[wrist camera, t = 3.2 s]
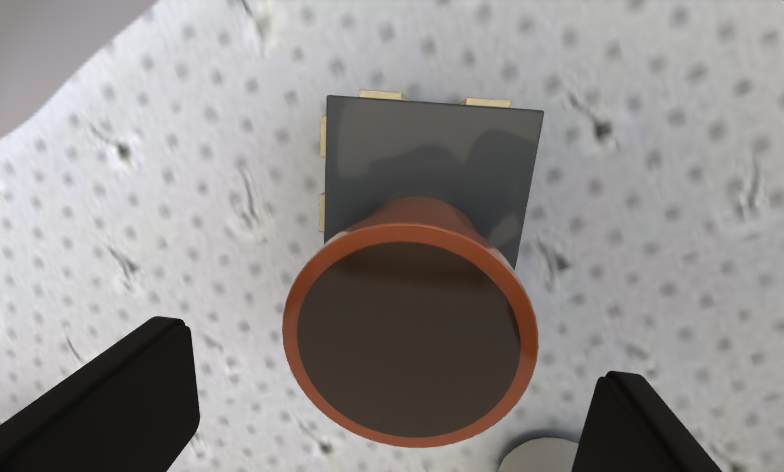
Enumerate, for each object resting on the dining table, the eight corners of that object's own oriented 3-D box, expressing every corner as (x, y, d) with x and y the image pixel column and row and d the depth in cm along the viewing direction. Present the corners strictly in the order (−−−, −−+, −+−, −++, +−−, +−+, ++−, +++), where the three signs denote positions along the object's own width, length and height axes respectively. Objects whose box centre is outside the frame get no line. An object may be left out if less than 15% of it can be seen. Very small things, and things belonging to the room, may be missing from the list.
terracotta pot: (510, 190, 16) (566, 239, 9) (485, 339, 18) (514, 467, 11) (342, 174, 16) (278, 210, 10) (337, 321, 19) (282, 431, 12)
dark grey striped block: (515, 108, 20) (546, 102, 15) (478, 333, 25) (491, 397, 19) (350, 96, 21) (319, 86, 16) (342, 316, 25) (315, 372, 20)
